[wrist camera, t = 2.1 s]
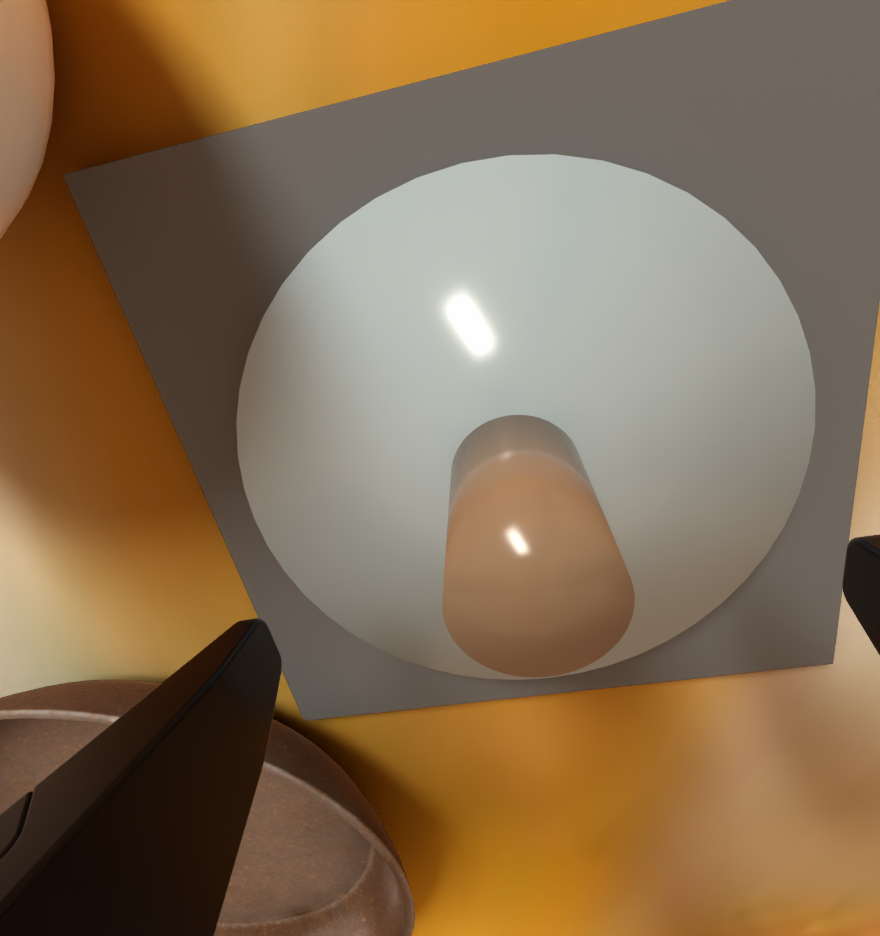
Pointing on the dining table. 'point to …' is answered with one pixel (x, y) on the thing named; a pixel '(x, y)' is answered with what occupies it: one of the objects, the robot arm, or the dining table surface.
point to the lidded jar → (23, 100)
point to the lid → (526, 417)
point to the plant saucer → (268, 826)
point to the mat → (532, 133)
